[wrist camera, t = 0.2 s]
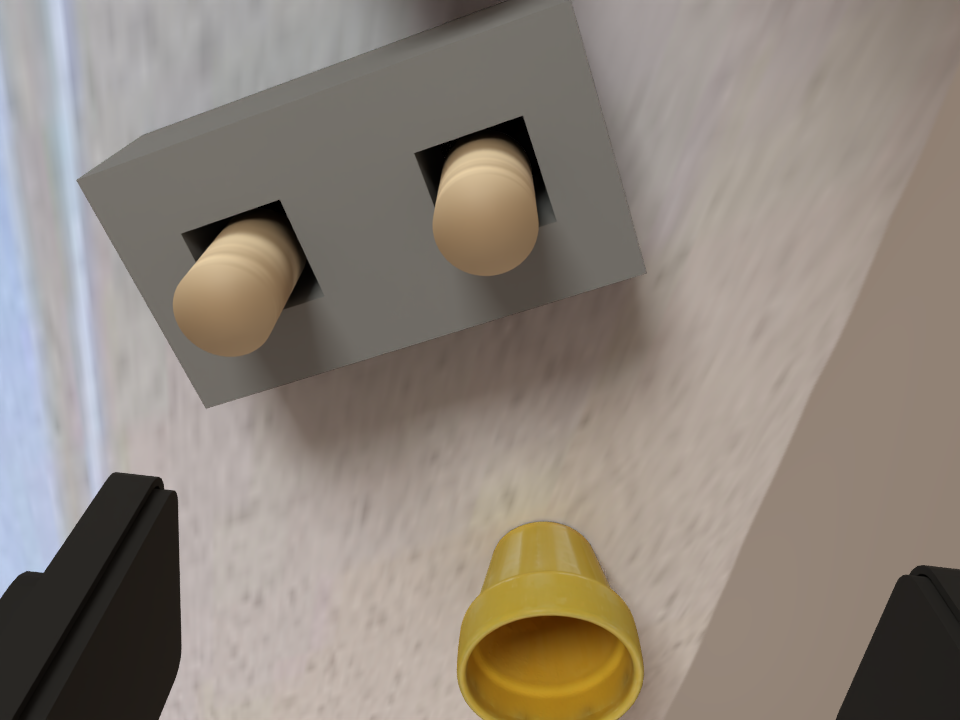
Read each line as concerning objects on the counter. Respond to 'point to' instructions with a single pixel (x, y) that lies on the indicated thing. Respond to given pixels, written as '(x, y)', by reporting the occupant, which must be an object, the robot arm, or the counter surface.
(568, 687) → the plant pot
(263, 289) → the peg
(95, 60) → the counter surface
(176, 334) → the collar block
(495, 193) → the peg
